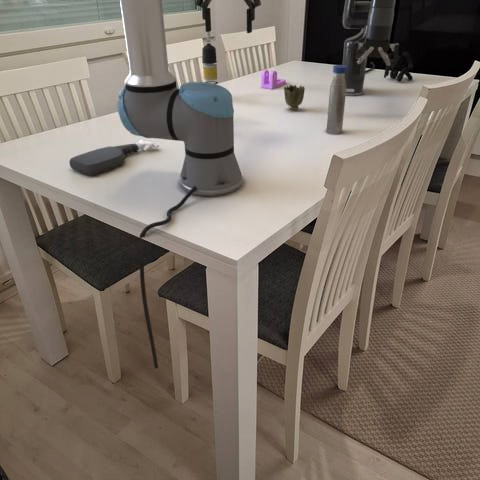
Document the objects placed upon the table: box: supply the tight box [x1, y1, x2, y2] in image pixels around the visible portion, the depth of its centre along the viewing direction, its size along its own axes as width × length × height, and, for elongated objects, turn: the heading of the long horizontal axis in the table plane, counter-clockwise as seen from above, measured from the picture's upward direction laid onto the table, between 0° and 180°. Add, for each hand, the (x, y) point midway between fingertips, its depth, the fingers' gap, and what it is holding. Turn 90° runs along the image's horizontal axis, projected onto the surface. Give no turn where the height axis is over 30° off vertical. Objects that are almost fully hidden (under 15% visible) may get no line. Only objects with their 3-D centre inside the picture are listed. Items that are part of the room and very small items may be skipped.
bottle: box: [326, 73, 347, 135], centre depth 137 cm, size 5×5×19 cm
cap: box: [332, 64, 348, 74], centre depth 132 cm, size 4×4×2 cm
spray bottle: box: [68, 139, 160, 177], centre depth 124 cm, size 3×11×24 cm
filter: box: [201, 31, 219, 85], centre depth 171 cm, size 6×6×30 cm
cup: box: [283, 84, 306, 112], centre depth 161 cm, size 8×7×8 cm
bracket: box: [260, 69, 287, 90], centre depth 194 cm, size 13×6×7 cm, turn 143°
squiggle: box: [387, 51, 414, 83], centre depth 198 cm, size 11×10×15 cm
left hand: (228, 32), depth 139 cm, fingers open, 13 cm apart
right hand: (371, 76), depth 149 cm, fingers open, 8 cm apart
